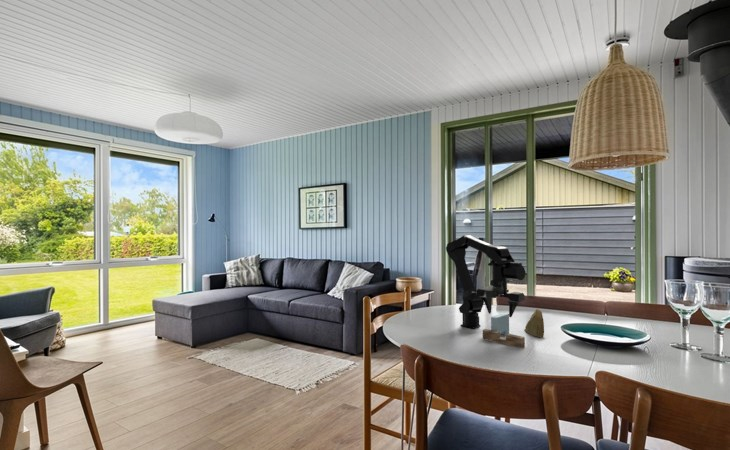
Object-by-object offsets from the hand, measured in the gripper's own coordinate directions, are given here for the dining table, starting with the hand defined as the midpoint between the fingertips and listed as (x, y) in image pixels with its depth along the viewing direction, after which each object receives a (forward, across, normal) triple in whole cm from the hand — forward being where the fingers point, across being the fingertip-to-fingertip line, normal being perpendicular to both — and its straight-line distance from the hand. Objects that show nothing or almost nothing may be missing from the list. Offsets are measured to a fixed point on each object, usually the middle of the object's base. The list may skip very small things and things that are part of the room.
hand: (499, 315), depth 159 cm
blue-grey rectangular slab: (+8, 0, 0) cm, 8 cm away
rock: (+8, +9, +11) cm, 17 cm away
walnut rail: (+8, +6, -9) cm, 13 cm away
